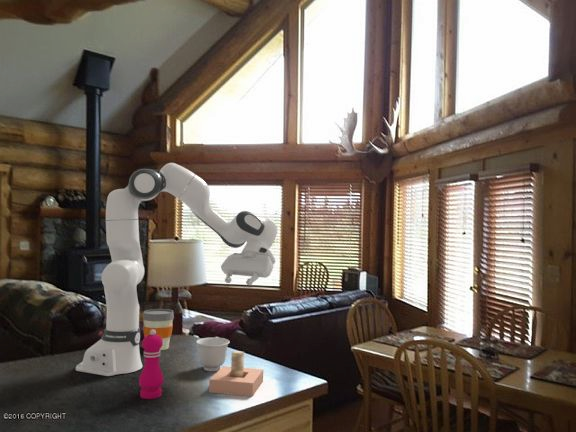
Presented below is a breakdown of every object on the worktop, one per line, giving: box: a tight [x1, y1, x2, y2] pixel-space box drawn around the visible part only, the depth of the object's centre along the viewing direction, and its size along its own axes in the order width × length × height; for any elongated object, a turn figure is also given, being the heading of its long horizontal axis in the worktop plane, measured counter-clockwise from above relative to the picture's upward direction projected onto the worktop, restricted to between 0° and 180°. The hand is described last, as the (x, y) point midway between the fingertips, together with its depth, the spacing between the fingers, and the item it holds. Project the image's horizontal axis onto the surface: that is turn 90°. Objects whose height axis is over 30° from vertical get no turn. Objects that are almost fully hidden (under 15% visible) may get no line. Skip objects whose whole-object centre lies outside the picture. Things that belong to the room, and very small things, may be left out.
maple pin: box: [230, 350, 245, 378], centre depth 156 cm, size 4×4×11 cm
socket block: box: [208, 365, 264, 397], centre depth 156 cm, size 14×14×4 cm
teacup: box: [195, 336, 230, 372], centre depth 175 cm, size 12×15×10 cm
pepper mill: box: [138, 329, 164, 400], centre depth 146 cm, size 7×7×20 cm
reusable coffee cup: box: [142, 308, 175, 351], centre depth 200 cm, size 13×13×15 cm
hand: (237, 283), depth 172 cm, fingers open, 8 cm apart
